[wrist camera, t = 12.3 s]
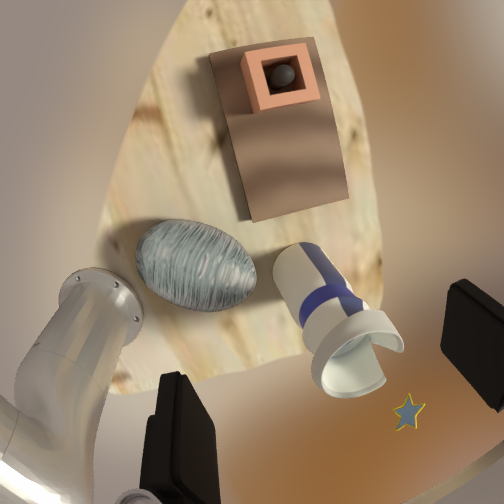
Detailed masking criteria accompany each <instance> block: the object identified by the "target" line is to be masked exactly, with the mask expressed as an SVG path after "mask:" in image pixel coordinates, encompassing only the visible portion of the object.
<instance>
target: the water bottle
mask: <svg viewBox="0 0 504 504" xmlns="http://www.w3.org/2000/svg"><path fill="white" fill-rule="evenodd" d="M272 274H273V280H274V282H275V284H276V286H277V288H278V290H279V291H280V293H281V295H282V297H283V299H284V301H285V303H286V305H287V307H288V309H289V311H290V313H291V315H292V317H293V319H294V321H295V322H296V323H297V324H298V326H299V327H301V328H302V329H303V341H304V344H305V346H306V347H307V349H308V350H309V351H310V352H312V353H313V354H314V357H313V360H312V365H311V373H312V378H313V380H314V382H315V383H316V385H317V386H318V387H319V388H321V389H322V390H324V391H325V392H326V393H327V394H329V395H330V396H333V397H337V398H353V397H358V396H362V395H365V394H367V393H370V392H372V391H374V390H375V389H377V388H379V387H381V386H382V385H383V384H384V383H385V381H386V378H385V376H384V374H383V372H382V370H381V368H380V365H379V363H378V361H377V359H376V356H375V354H374V351H373V349H372V346H371V343H375V344H378V345H381V346H384V347H386V348H389V349H391V350H394V351H396V352H399V353H401V352H402V351H403V350H404V344H403V340H402V338H401V337H400V335H399V334H398V332H397V330H396V329H395V327H394V326H393V324H392V323H391V321H390V320H389V319H388V318H387V316H386V314H385V313H384V312H383V311H381V310H370V309H369V307H368V305H367V304H366V303H365V302H364V301H363V300H362V299H360V298H358V297H356V296H355V295H354V293H353V290H352V288H351V286H350V284H349V283H348V281H347V280H346V279H345V277H344V276H343V275H342V274H341V273H340V271H339V270H338V269H337V268H336V267H335V265H334V264H333V263H332V261H331V260H330V259H329V257H328V256H327V255H326V253H325V252H324V251H323V250H322V249H321V248H320V247H319V246H317V245H315V244H312V243H307V242H302V243H296V244H293V245H291V246H289V247H287V248H286V249H284V250H283V251H282V252H281V253H280V254H279V256H278V257H277V259H276V260H275V263H274V266H273V272H272ZM424 406H425V403H423V404H413V402H412V399H411V395H410V393H409V394H408V396H407V398H406V400H405V402H404V404H403V405H402V406H400V407H397V408H395V409H393V411H394V412H395V414H396V415H398V416H399V421H398V424H397V427H396V431H398V430H400V429H401V428H403V427H404V426H405V425H408V426H411V427H413V428H417V422H416V416H417V414H418V413H419V412H420V411H421V409H422V408H423V407H424Z"/></svg>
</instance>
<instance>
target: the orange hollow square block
mask: <svg viewBox="0 0 504 504" xmlns="http://www.w3.org/2000/svg"><path fill="white" fill-rule="evenodd" d="M279 65H289V66H290V67H292V68H293V70H294V72H295V77H294V79H293V81H292V82H290V85H291V89H292V91H291V92H286V93H280V94H275V95H270V94H269V90H268V86H267V82H266V79H265V75H264V71H263V69H269V68H275V67H277V66H279ZM240 66H241V69H242V73H243V76H244V80H245V84H246V88H247V91H248V95H249V99H250V102H251V106H252V110H253V114H256V113H260V112H265V111H270V110H274V109H279V108H284V107H289V106H295V105H300V104H306V103H309V102H312V101H315V100H319V99H321V98H320V94H319V90H318V86H317V82H316V78H315V74H314V71H313V67H312V63H311V60H310V56H309V53H308V50H307V46H306V43H300V44H292V45H284V46H277V47H271V48H264V49H259V50H253V51H248V52H245V53H244V55H243V58H242V60H241V63H240Z"/></svg>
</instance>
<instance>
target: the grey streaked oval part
mask: <svg viewBox="0 0 504 504" xmlns="http://www.w3.org/2000/svg"><path fill="white" fill-rule="evenodd" d="M135 258H136V267H137V270H138V273H139V275H140V277H141V278H142V280H143V281H144V283H145V284H146V286H147V287H148V288H149V289H150V290H152V291H153V292H154V293H155V294H157V295H158V296H160V297H162V298H163V299H165V300H167V301H169V302H171V303H173V304H175V305H178V306H180V307H183V308H186V309H190V310H194V311H203V312H215V311H222V310H226V309H229V308H231V307H234V306H236V305H238V304H239V303H241V302H242V301H243V300H245V299H246V298H247V297H248V296H249V295H250V294H251V293H252V292H253V290H254V288H255V286H256V282H257V276H256V271H255V267H254V264H253V262H252V259H251V257H250V256H249V254H248V253H247V251H246V250H245V249H244V247H243V246H242V245H241V244H240V243H239V242H238V241H237V240H235V239H234V238H233V237H231V236H230V235H228V234H226V233H225V232H223V231H221V230H219V229H217V228H215V227H212V226H210V225H206V224H203V223H200V222H195V221H190V220H184V219H169V220H165V221H161V222H159V223H156V224H155V225H153V226H152V227H150V228H149V229H148V230H147V231H146V232H145V233H144V234H143V236H142V237H141V239H140V241H139V243H138V245H137V249H136V257H135Z"/></svg>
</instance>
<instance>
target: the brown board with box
mask: <svg viewBox="0 0 504 504" xmlns="http://www.w3.org/2000/svg"><path fill="white" fill-rule="evenodd" d="M300 43H306V46H307V50H308V53H309V56H310V60H311V63H312V67H313V71H314V74H315V78H316V82H317V86H318V90H319V94H320V98H321V99H319V100H315V101H312V102H309V103H306V104H300V105H295V106H289V107H284V108H279V109H274V110H270V111H265V112H260V113H256V114H253V110H252V106H251V102H250V99H249V95H248V91H247V88H246V84H245V80H244V76H243V73H242V69H241V66H240V63H241V60H242V58H243V55H244V53H245V52H248V51H253V50H259V49H264V48H271V47H277V46H284V45H292V44H300ZM209 59H210V62H211V66H212V70H213V74H214V77H215V81H216V85H217V89H218V93H219V96H220V100H221V104H222V108H223V112H224V115H225V119H226V123H227V127H228V131H229V135H230V138H231V142H232V146H233V150H234V154H235V158H236V162H237V165H238V169H239V173H240V177H241V181H242V185H243V189H244V193H245V197H246V200H247V204H248V208H249V212H250V216H251V220H252V222H253V223H255V222H259V221H263V220H266V219H270V218H274V217H278V216H281V215H285V214H289V213H293V212H297V211H301V210H304V209H308V208H312V207H316V206H320V205H324V204H328V203H332V202H336V201H340V200H344V199H348V198H349V194H348V187H347V181H346V175H345V169H344V164H343V158H342V153H341V147H340V142H339V137H338V132H337V127H336V123H335V118H334V114H333V109H332V105H331V100H330V96H329V92H328V88H327V84H326V80H325V76H324V72H323V69H322V65H321V61H320V58H319V54H318V50H317V47H316V44H315V40H314V37H307V38H297V39H288V40H280V41H273V42H266V43H260V44H254V45H248V46H243V47H237V48H232V49H228V50H223V51H219V52H214V53H210V54H209ZM263 71H264V75H265V79H266V82H267V86H268V90H269V94H270V95H275V94H280V93H286V92H291V91H292V89H291V85H290V82H292V81H293V79H294V77H295V72H294V70H293V68H292V67H290V66H289V65H279V66H277V67H275V68H269V69H263Z"/></svg>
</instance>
